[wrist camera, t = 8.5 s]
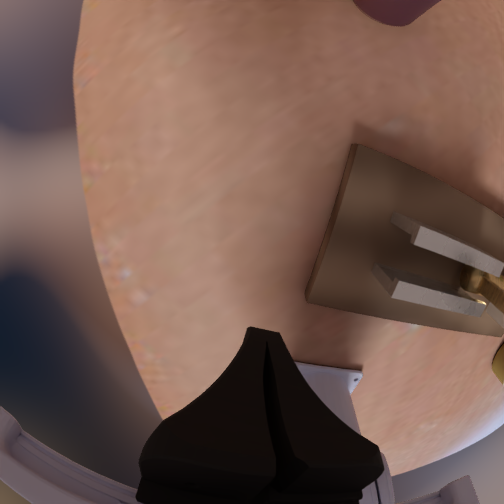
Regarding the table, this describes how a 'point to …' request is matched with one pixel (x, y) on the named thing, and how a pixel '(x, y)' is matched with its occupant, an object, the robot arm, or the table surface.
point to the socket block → (495, 314)
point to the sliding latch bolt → (483, 285)
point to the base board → (398, 242)
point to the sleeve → (429, 289)
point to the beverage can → (395, 10)
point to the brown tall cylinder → (499, 364)
